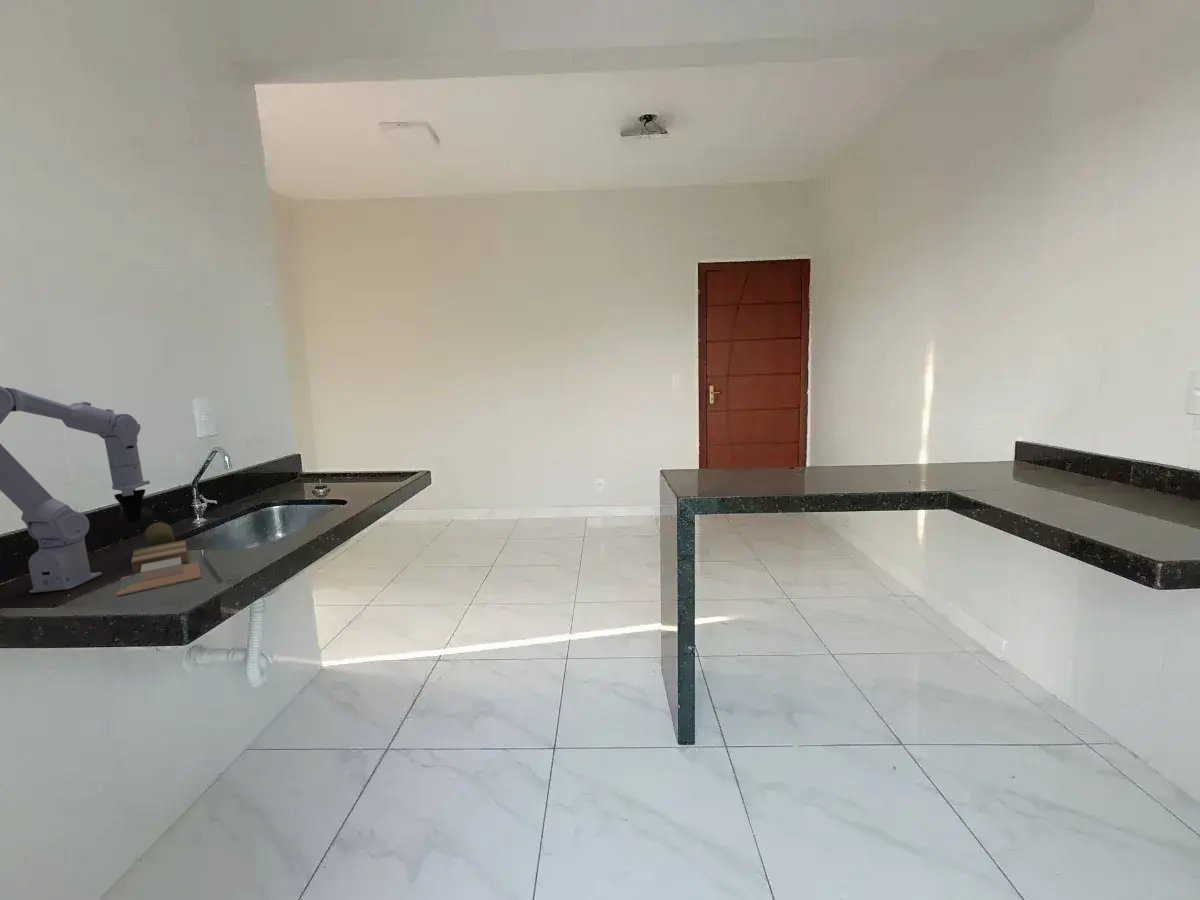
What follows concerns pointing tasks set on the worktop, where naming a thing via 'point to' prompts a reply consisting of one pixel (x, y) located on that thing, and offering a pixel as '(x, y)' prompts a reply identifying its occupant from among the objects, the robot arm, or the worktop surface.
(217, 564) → the worktop surface
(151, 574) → the coaster
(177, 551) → the wooden bridge block
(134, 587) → the mat
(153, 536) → the olive green rounded cylinder
